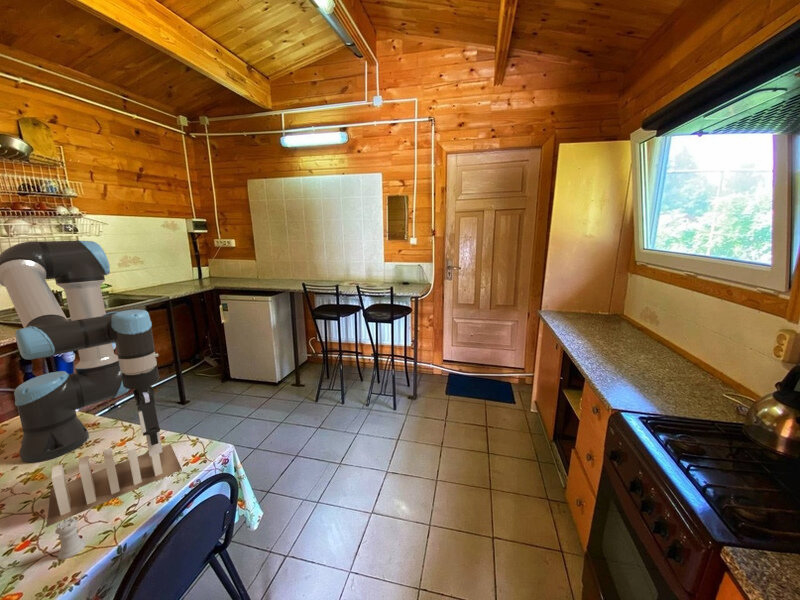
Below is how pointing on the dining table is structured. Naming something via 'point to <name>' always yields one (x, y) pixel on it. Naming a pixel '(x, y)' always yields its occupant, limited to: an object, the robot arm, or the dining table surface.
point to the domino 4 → (133, 462)
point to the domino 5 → (156, 464)
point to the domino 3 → (111, 470)
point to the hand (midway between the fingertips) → (151, 441)
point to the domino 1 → (61, 489)
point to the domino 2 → (87, 480)
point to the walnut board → (103, 487)
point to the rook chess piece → (69, 539)
